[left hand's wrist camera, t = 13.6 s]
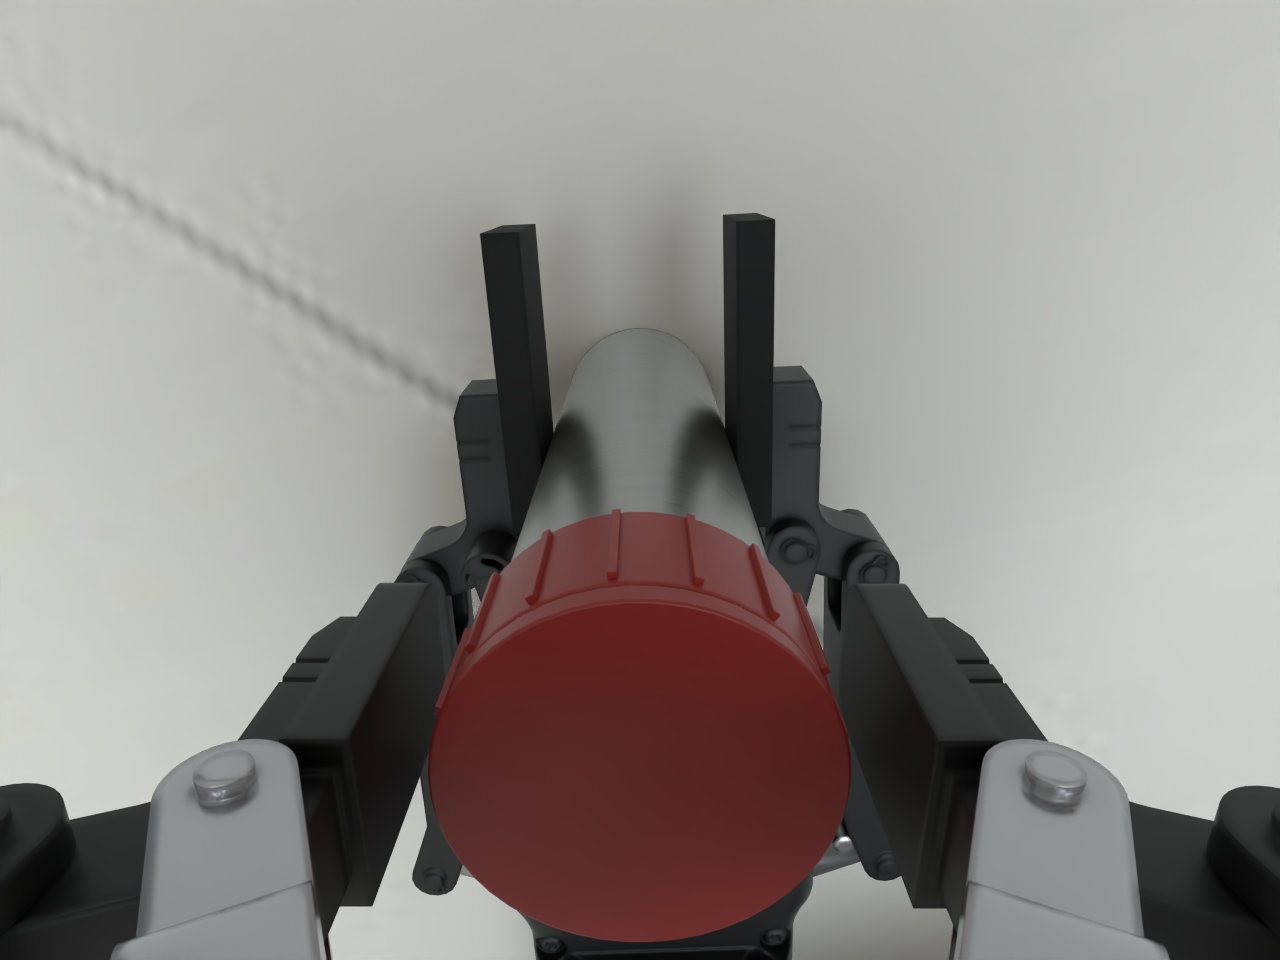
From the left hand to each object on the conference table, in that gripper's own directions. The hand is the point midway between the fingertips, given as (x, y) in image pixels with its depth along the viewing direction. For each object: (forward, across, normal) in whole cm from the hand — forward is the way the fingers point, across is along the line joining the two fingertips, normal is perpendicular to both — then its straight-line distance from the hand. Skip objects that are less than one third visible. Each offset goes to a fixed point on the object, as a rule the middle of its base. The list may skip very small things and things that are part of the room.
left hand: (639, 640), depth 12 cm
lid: (-3, 0, 0) cm, 3 cm away
